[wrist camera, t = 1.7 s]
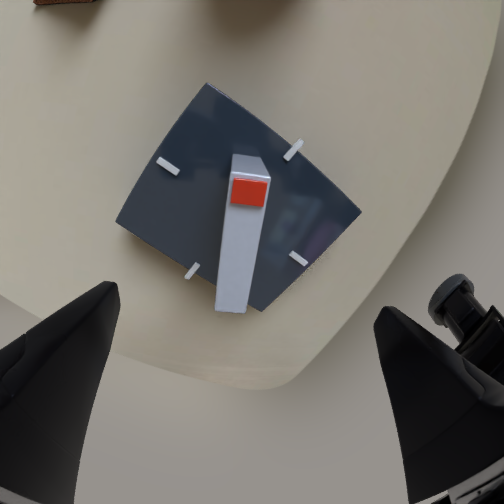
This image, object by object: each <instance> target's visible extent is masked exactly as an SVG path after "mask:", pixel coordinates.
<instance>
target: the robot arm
mask: <svg viewBox="0 0 504 504" xmlns="http://www.w3.org/2000/svg"><path fill="white" fill-rule="evenodd" d="M119 312H120V298H119V292H118V286H117V284H116V283H115V282H110V281H104V282H102V283H100V284H99V285H97V286H95V287H94V288H92V289H91V290H89V291H87V292H86V293H84V294H83V295H81V296H79V297H78V298H76V299H75V300H73V301H72V302H70V303H69V304H67V305H66V306H64V307H62V308H61V309H59V310H58V311H56V312H55V313H53V314H52V315H50V316H49V317H47V318H46V319H44V320H43V321H42V322H40V323H39V324H37V325H36V326H34V327H33V328H31V329H30V330H28V331H27V332H26V334H23V335H21V336H20V337H19V338H17V339H16V340H14V341H13V342H11V343H10V344H8V345H7V346H5V347H4V348H3V349H1V350H0V504H74V495H75V488H76V482H77V475H78V470H79V464H80V461H79V460H80V458H81V453H82V448H83V444H84V439H85V435H86V430H87V426H88V422H89V418H90V414H91V410H92V407H93V403H94V400H95V396H96V393H97V389H98V386H99V383H100V380H101V376H102V373H103V370H104V367H105V364H106V361H107V358H108V355H109V352H110V348H111V344H112V340H113V336H114V332H115V327H116V323H117V319H118V315H119ZM434 314H435V315H436V316H437V318H438V319H439V320H440V321H441V323H442V324H443V325H444V326H445V327H446V328H449V329H450V331H451V332H452V333H453V335H454V336H455V338H456V339H457V341H458V342H459V345H458V346H457V347H456V348H455V349H454V350H453V349H452V348H450V347H449V346H448V345H446V344H445V343H444V342H442V341H441V340H440V339H438V338H437V337H436V336H434V335H433V334H432V333H430V332H429V331H427V330H426V329H425V328H423V327H422V326H421V325H419V324H417V323H416V322H415V321H414V320H412V319H411V318H409V317H408V316H406V315H405V314H404V313H402V312H401V311H400V310H398V309H397V308H395V307H392V306H385V307H383V308H382V310H381V311H380V313H379V315H378V317H377V319H376V321H375V323H374V333H375V338H376V343H377V348H378V353H379V359H380V364H381V367H382V371H383V375H384V379H385V382H386V386H387V389H388V394H389V397H390V401H391V405H392V409H393V414H394V418H395V423H396V427H397V432H398V437H399V442H400V447H401V452H402V458H403V465H404V471H405V478H406V485H407V493H408V501H409V504H415V503H417V502H420V501H423V500H425V499H428V498H430V497H432V496H435V495H437V494H439V493H441V492H444V491H446V490H448V494H446V495H445V496H443V497H441V498H440V499H438V500H436V501H435V502H433V503H431V504H504V317H503V316H502V314H501V313H500V312H499V311H498V310H497V309H496V308H495V307H494V306H493V305H492V306H491V307H490V309H489V311H488V312H487V311H486V310H485V309H484V308H483V307H482V306H481V304H480V303H479V302H478V301H477V300H476V299H475V297H474V295H473V293H472V290H471V288H470V286H469V284H468V282H467V281H466V280H463V281H462V282H461V283H460V284H459V286H458V287H457V288H456V289H455V290H454V291H453V292H452V293H451V294H450V295H449V296H448V297H447V298H446V299H445V300H444V301H443V302H442V303H441V304H440V305H439V306H438V307H437V308H436V309H435V310H434ZM498 320H500V321H498Z"/></svg>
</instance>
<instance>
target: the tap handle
mask: <svg viewBox="0 0 504 504" xmlns="http://www.w3.org/2000/svg"><path fill="white" fill-rule="evenodd" d="M270 183H271V176H270V174H269V172H268V171H267V169H266V167H265V165H264V163H263V161H262V159H261V158H260V157H253V156H246V155H238V154H233V155H232V158H231V165H230V172H229V180H228V187H227V195H226V202H225V210H224V218H223V226H222V235H221V243H220V252H219V261H218V271H217V282H216V294H215V306H214V310H215V311H220V312H231V313H242V314H244V313H245V312H246V308H247V303H248V298H249V293H250V288H251V283H252V277H253V272H254V267H255V262H256V257H257V251H258V246H259V241H260V236H261V230H262V225H263V220H264V215H265V209H266V204H267V199H268V193H269V188H270Z"/></svg>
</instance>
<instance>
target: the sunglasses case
mask: <svg viewBox="0 0 504 504" xmlns="http://www.w3.org/2000/svg"><path fill="white" fill-rule="evenodd" d="M94 1H96V0H33V3H35V4H36V5H51V4H63V3H86V2H94Z"/></svg>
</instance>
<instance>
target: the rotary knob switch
mask: <svg viewBox="0 0 504 504" xmlns="http://www.w3.org/2000/svg"><path fill="white" fill-rule="evenodd" d="M303 144H304V142H303V141H302V140H301V139H300V138H299V139H298V140H297V141H296V142H295V144H294V145H293V146H291V145H290V144H289V143H288V142H287V141H285V140H284V139H283V138H282V137H281V136H279V135H278V134H277V133H276V132H275V131H273V130H272V129H271V128H270V127H268V126H267V125H266V124H264V123H263V122H262V121H261V120H259V119H258V118H257V117H255V116H254V115H253V114H251V113H250V112H249V111H248V110H246V109H245V108H243V107H242V106H241V105H239V104H238V103H237V102H235V101H234V100H232V99H231V98H230V97H228V96H227V95H225V94H224V93H223V92H221V91H220V90H218V89H217V88H215V87H214V86H212V85H211V84H209V83H206V84H205V85H204V86H203V87H202V89H201V90H200V91H199V92H198V94H197V95H196V96H195V97H194V99H193V100H192V101H191V102H190V104H189V105H188V106H187V108H186V109H185V110H184V112H183V113H182V114H181V116H180V117H179V118H178V120H177V121H176V123H175V124H174V125H173V127H172V128H171V130H170V131H169V132H168V134H167V135H166V137H165V138H164V140H163V141H162V143H161V144H160V146H159V147H158V149H157V150H156V152H155V153H154V155H153V156H152V158H151V159H150V161H149V163H148V164H147V166H146V167H145V169H144V171H143V172H142V174H141V176H140V177H139V179H138V181H137V182H136V184H135V186H134V188H133V189H132V191H131V193H130V195H129V196H128V198H127V200H126V202H125V204H124V205H123V207H122V209H121V211H120V213H119V215H118V217H117V219H116V221H115V222H116V223H118V224H119V225H121V226H122V227H124V228H125V229H127V230H128V231H130V232H131V233H133V234H134V235H136V236H137V237H139V238H140V239H142V240H143V241H145V242H146V243H148V244H149V245H151V246H153V247H154V248H156V249H157V250H159V251H160V252H162V253H164V254H165V255H167V256H168V257H170V258H171V259H173V260H175V261H176V262H178V263H179V264H181V265H183V266H184V267H186V268H188V269H189V271H188V272H187V274H186V275H185V276H184V278H186V279H188V280H189V279H190V278H191V276H192V275H193V274H194V273H196V274H197V275H199V276H201V277H202V278H204V279H206V280H207V281H209V282H211V283H212V284H214V285H216V282H217V271H218V261H219V252H220V243H221V235H222V226H223V218H224V210H225V202H226V195H227V187H228V180H229V172H230V165H231V158H232V155H233V154H238V155H246V156H253V157H260V158H261V159H262V161H263V163H264V165H265V167H266V169H267V171H268V172H269V174H270V176H271V183H270V188H269V193H268V199H267V204H266V209H265V215H264V220H263V225H262V230H261V236H260V241H259V246H258V251H257V257H256V262H255V267H254V272H253V277H252V283H251V288H250V293H249V298H248V303H247V304H248V305H250V306H252V307H253V308H255V309H257V310H259V311H261V312H262V311H263V310H264V309H265V308H266V307H267V306H269V305H270V304H271V303H272V302H273V301H274V300H275V299H276V298H277V297H278V296H279V295H280V294H281V293H282V292H283V291H284V290H286V289H287V288H288V287H289V286H290V285H291V284H292V283H293V282H294V281H295V280H296V279H297V278H298V277H299V276H300V275H301V274H302V273H303V272H304V271H305V270H306V269H307V268H308V267H309V266H310V265H311V264H312V263H313V262H314V261H315V260H316V259H317V258H318V257H319V256H320V255H321V254H322V253H323V252H324V251H325V250H326V249H327V248H328V247H329V246H330V245H331V244H332V243H333V242H334V241H335V240H336V239H337V238H338V237H339V236H340V235H341V234H342V233H343V232H344V231H345V230H346V229H347V228H348V226H349V225H350V224H351V223H352V222H353V221H354V220H355V219H356V218H357V217H358V216H359V215H360V214H361V213H362V211H361V210H360V209H359V208H358V207H357V206H356V205H355V204H354V203H353V202H352V201H351V200H350V199H349V198H348V197H347V196H346V195H345V194H344V193H343V192H342V191H341V190H340V189H339V188H338V187H337V186H336V185H335V184H334V183H333V182H332V181H331V180H329V179H328V178H327V177H326V176H325V175H324V174H323V173H322V172H321V171H320V170H319V169H318V168H317V167H315V166H314V165H313V164H312V163H311V162H310V161H309V160H308V159H306V158H305V157H304V156H303V155H302V154H301V153H300V152H298V150H299V148H300V147H301V146H302V145H303Z"/></svg>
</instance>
